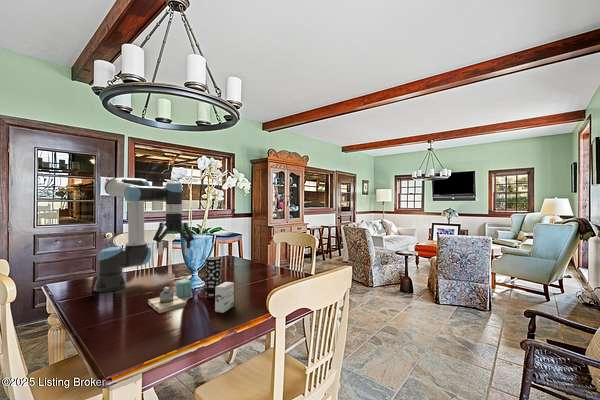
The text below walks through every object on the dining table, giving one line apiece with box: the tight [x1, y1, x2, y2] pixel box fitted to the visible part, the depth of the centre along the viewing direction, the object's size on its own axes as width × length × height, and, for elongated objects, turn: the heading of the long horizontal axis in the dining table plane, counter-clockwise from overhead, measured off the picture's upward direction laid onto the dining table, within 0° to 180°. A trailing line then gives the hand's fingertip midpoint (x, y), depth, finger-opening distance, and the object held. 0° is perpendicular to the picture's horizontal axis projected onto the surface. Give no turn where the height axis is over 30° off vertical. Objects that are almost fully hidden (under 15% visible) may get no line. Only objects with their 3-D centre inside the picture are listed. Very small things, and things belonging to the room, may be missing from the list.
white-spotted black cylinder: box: [204, 256, 222, 299], centre depth 149 cm, size 8×8×20 cm
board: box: [147, 293, 186, 314], centre depth 135 cm, size 16×12×2 cm
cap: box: [175, 279, 193, 298], centre depth 150 cm, size 8×8×7 cm
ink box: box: [214, 281, 235, 314], centre depth 131 cm, size 9×5×12 cm, turn 158°
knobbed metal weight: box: [159, 286, 174, 303], centre depth 135 cm, size 6×6×6 cm
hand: (173, 254), depth 141 cm, fingers open, 13 cm apart
